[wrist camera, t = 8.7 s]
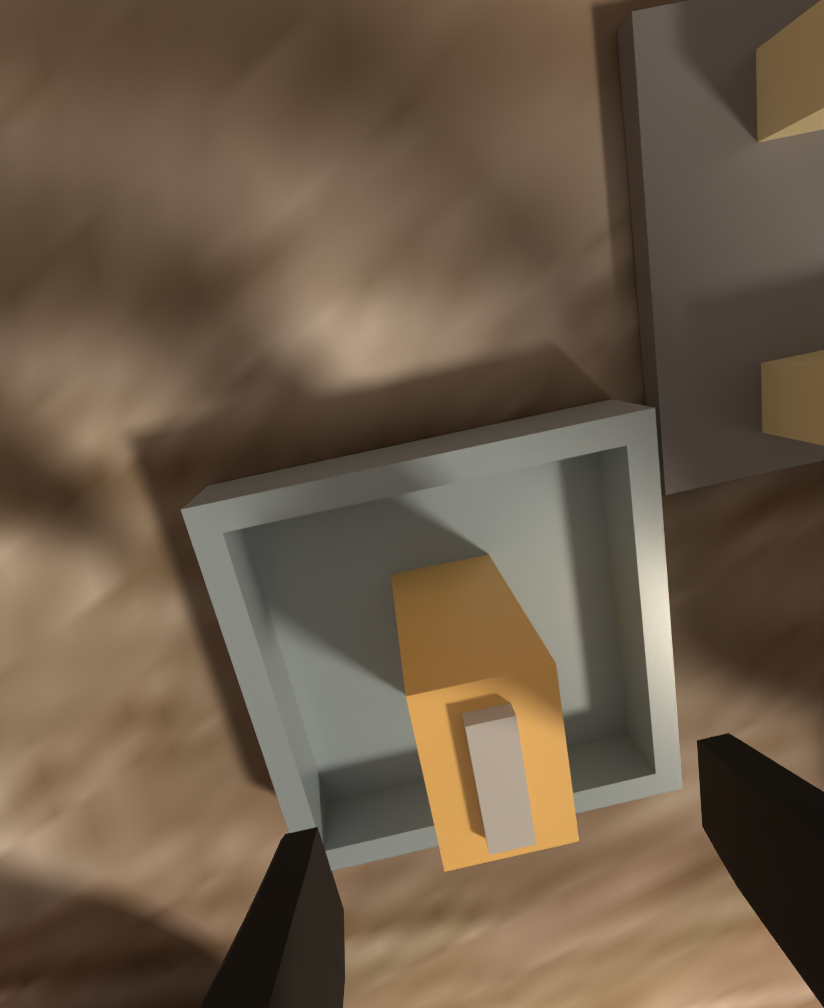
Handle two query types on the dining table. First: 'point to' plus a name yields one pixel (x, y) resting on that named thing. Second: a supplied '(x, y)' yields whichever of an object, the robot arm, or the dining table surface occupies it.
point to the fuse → (483, 714)
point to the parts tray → (432, 541)
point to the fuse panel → (728, 231)
